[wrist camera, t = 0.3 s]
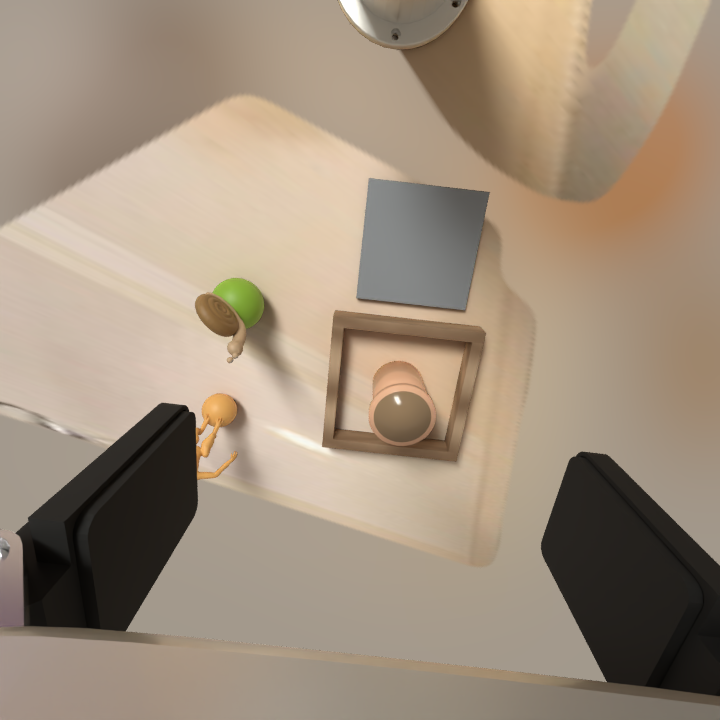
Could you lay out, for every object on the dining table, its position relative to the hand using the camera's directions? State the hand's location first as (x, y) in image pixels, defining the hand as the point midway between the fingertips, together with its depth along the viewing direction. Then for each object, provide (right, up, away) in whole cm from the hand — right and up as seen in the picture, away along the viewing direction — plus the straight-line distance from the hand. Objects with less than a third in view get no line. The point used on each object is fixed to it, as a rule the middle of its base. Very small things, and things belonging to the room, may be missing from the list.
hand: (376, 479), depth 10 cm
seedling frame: (+4, 0, +38) cm, 38 cm away
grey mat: (+6, +15, +32) cm, 36 cm away
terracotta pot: (+4, 0, +38) cm, 38 cm away
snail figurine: (-13, +10, +35) cm, 38 cm away
